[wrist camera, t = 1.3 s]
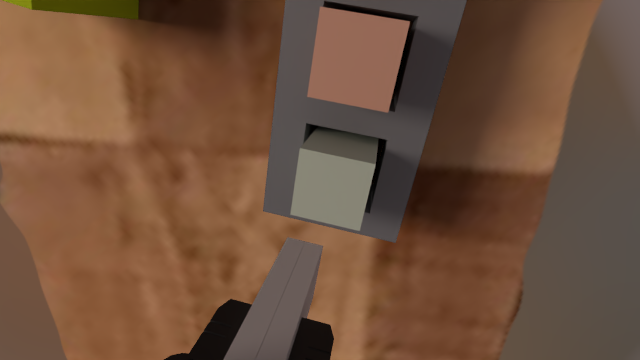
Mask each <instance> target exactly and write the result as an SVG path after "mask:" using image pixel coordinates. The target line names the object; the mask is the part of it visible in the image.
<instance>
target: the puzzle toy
mask: <svg viewBox="0 0 640 360" xmlns="http://www.w3.org/2000/svg"><path fill="white" fill-rule="evenodd" d="M3 1H6V2H9V3H13V4H16V5H19V6H22V7H26V8H29V9H32V10H43V11H54V12H64V13H75V14H86V15H96V16H107V17H118V18H129V19H138V8H139V0H3Z"/></svg>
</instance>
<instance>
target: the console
mask: <svg viewBox="0 0 640 360" xmlns="http://www.w3.org/2000/svg"><path fill="white" fill-rule="evenodd" d="M466 1H467V0H286V1H285V10H284V20H283V29H282V38H281V48H280V57H279V66H278V76H277V85H276V95H275V104H274V113H273V123H272V132H271V142H270V151H269V160H268V170H267V179H266V188H265V198H264V207H263V211H265V212H269V213H273V214H277V215H281V216H286V217H290V218H294V219H298V220H302V221H307V222H311V223H315V224H319V225H323V226H328V227H332V228H336V229H340V230H344V231H348V232H353V233H357V234H361V235H365V236H369V237H374V238H378V239H382V240H386V241H390V242H395V243H396V239H397V236H398V233H399V229H400V226H401V222H402V219H403V216H404V212H405V209H406V205H407V202H408V199H409V195H410V192H411V188H412V185H413V182H414V178H415V175H416V171H417V168H418V165H419V161H420V158H421V154H422V151H423V148H424V144H425V141H426V137H427V134H428V131H429V127H430V124H431V120H432V117H433V114H434V110H435V107H436V103H437V100H438V97H439V93H440V90H441V86H442V83H443V80H444V76H445V73H446V69H447V66H448V63H449V59H450V56H451V52H452V49H453V46H454V42H455V39H456V35H457V32H458V29H459V25H460V22H461V18H462V15H463V12H464V8H465V5H466ZM320 7H326V8H332V9H340V10H346V11H352V12H358V13H364V14H370V15H376V16H382V17H388V18H394V19H400V20H406V21H412V22H413V23H412V27H411V31H410V35H409V39H408V43H407V47H406V52H405V56H404V60H403V64H402V68H401V72H400V76H399V80H398V84H397V88H396V93H395V97H394V99H391V103H390V107H389V111H388V113H387V112H382V111H377V110H372V109H367V108H362V107H356V106H351V105H346V104H341V103H336V102H331V101H326V100H321V99H316V98H311V97H307V94H308V87H309V80H310V73H311V66H312V59H313V52H314V46H315V39H316V32H317V25H318V18H319V11H320ZM318 126H323V127H327V128H332V129H337V130H342V131H347V132H352V133H356V134H361V135H366V136H371V137H376V138H381V139H384V142H383V146H382V150H381V154H380V158H379V162H378V166H377V171H376V175H375V179H374V183H373V184H371V186H370V190H369V195H368V199H367V203H366V207H365V211H364V215H363V219H362V224H361V228H360V231H357V230H353V229H349V228H345V227H340V226H336V225H332V224H328V223H323V222H319V221H315V220H311V219H307V218H302V217H298V216H294V215H290V213H291V206H292V199H293V192H294V185H295V178H296V171H297V164H298V157H299V150H300V147H301V146H302V145H303V144H304V143H305V141H306V140H307V139H308V138H309V137H310V135H311V134H312V133H313V132H314V131H315V130H316V128H317V127H318Z"/></svg>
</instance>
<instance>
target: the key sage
mask: <svg viewBox="0 0 640 360" xmlns="http://www.w3.org/2000/svg"><path fill="white" fill-rule="evenodd" d="M378 140H379V138H376V137H371V136H366V135H361V134H356V133H352V132H347V131H342V130H337V129H332V128H327V127H323V126H318V127H317V128H316V130H315V131H314V132H313V133H312V134H311V135H310V137H309V138H308V139H307V140H306V141H305V143H304V144H303V145H302V146H301V147H300V150H299V157H298V164H297V171H296V178H295V185H294V192H293V199H292V206H291V213H290V215H294V216H298V217H302V218H307V219H311V220H315V221H319V222H323V223H328V224H332V225H336V226H340V227H345V228H349V229H353V230H357V231H360V228H361V224H362V219H363V215H364V211H365V207H366V203H367V199H368V195H369V190H370V186H371V182H372V178H373V174H374V170H375V165H376V158H377V149H378Z"/></svg>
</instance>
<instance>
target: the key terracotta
mask: <svg viewBox="0 0 640 360" xmlns="http://www.w3.org/2000/svg"><path fill="white" fill-rule="evenodd" d="M409 24H410V21H404V20H398V19H392V18H386V17H380V16H374V15H368V14H362V13H356V12H350V11H344V10H338V9H332V8H326V7H320V11H319V18H318V25H317V32H316V39H315V46H314V52H313V59H312V66H311V73H310V80H309V87H308V94H307V97H311V98H316V99H321V100H326V101H331V102H336V103H341V104H346V105H351V106H356V107H362V108H367V109H372V110H377V111H382V112H387V113H388V111H389V107H390V103H391V99H392V95H393V91H394V87H395V82H396V78H397V74H398V70H399V66H400V62H401V58H402V53H403V49H404V45H405V41H406V37H407V33H408V28H409Z"/></svg>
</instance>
